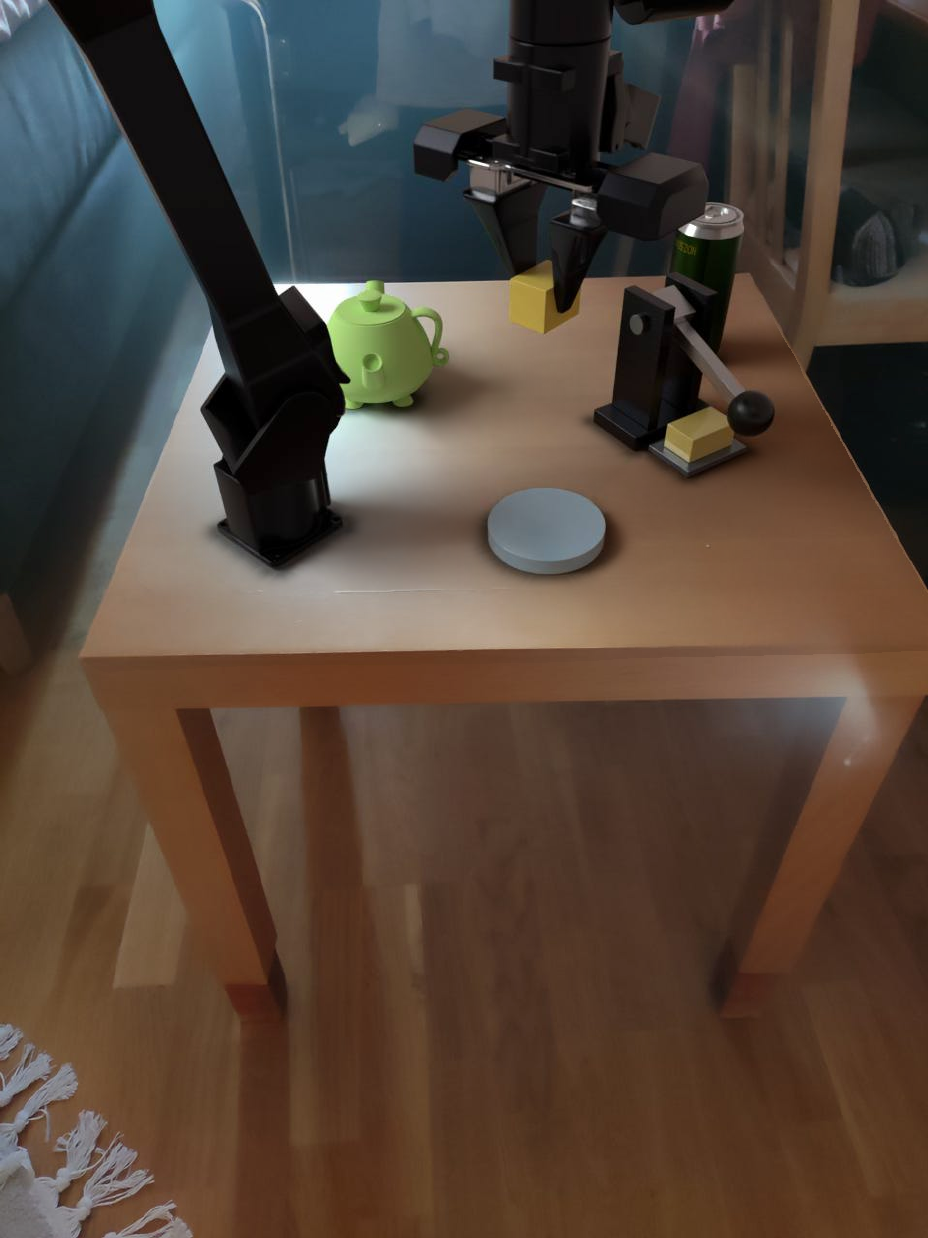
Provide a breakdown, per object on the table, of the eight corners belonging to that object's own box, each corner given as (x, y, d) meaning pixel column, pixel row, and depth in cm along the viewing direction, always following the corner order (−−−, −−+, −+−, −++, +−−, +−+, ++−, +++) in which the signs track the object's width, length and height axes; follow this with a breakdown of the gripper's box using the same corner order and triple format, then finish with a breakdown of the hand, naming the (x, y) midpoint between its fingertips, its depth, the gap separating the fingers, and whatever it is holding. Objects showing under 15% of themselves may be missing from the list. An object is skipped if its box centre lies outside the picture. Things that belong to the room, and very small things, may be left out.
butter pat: (543, 334, 59) (546, 291, 57) (508, 321, 61) (510, 278, 59) (579, 314, 61) (582, 271, 59) (544, 301, 63) (546, 259, 61)
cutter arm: (769, 437, 63) (792, 408, 61) (737, 452, 62) (758, 422, 59) (664, 311, 67) (681, 278, 65) (632, 322, 66) (647, 289, 63)
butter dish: (745, 451, 68) (752, 423, 66) (687, 477, 66) (692, 449, 64) (705, 426, 71) (710, 398, 69) (647, 450, 68) (652, 421, 67)
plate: (555, 591, 57) (556, 577, 56) (463, 539, 61) (463, 526, 60) (627, 532, 61) (629, 518, 60) (537, 487, 65) (537, 473, 64)
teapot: (472, 386, 76) (471, 289, 70) (374, 443, 70) (364, 343, 64) (381, 345, 81) (373, 252, 75) (283, 395, 75) (266, 298, 69)
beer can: (695, 373, 76) (721, 231, 68) (645, 352, 79) (664, 213, 71) (731, 352, 79) (760, 212, 71) (681, 332, 82) (703, 196, 73)
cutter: (710, 419, 71) (736, 288, 64) (633, 451, 68) (651, 317, 61) (667, 392, 74) (688, 264, 67) (592, 422, 71) (605, 291, 64)
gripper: (781, 31, 49) (726, 302, 60) (518, -8, 58) (512, 234, 69) (675, 72, 43) (635, 365, 54) (400, 21, 52) (413, 281, 63)
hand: (544, 304), depth 60 cm, fingers closed on butter pat, 3 cm apart
